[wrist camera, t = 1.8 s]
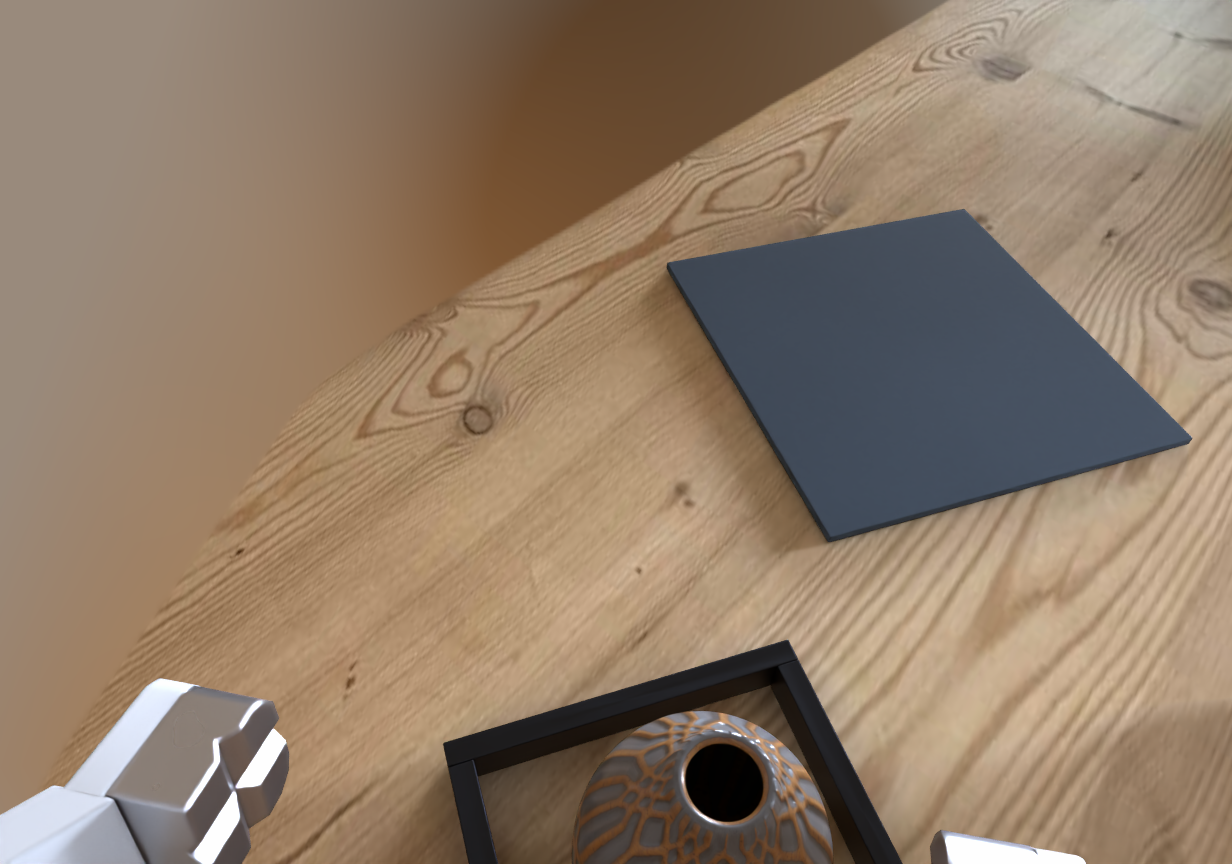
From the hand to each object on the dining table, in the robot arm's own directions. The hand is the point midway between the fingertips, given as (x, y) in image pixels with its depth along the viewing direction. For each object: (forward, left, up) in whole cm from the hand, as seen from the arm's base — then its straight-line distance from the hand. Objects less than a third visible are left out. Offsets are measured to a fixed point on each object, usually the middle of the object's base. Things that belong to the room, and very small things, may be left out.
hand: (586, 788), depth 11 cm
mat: (+23, +21, -18) cm, 36 cm away
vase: (+4, +2, -18) cm, 19 cm away
